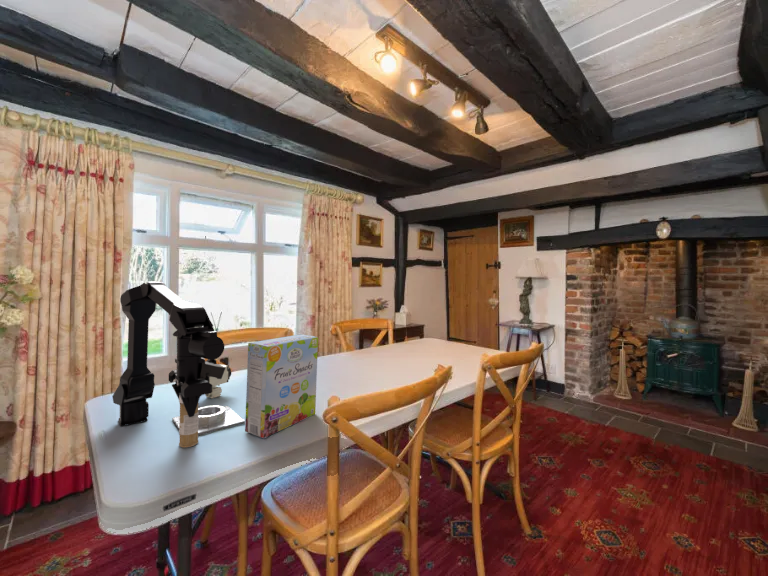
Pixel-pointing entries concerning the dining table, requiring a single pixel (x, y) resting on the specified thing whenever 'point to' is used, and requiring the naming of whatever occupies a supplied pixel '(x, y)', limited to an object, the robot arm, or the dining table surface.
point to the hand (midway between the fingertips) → (189, 413)
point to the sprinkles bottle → (188, 427)
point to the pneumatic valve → (218, 382)
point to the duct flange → (214, 419)
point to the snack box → (280, 383)
